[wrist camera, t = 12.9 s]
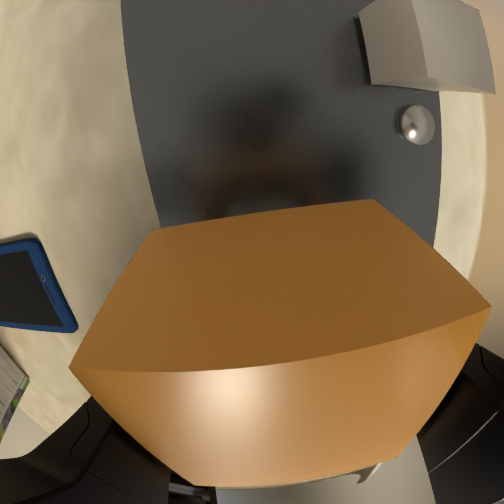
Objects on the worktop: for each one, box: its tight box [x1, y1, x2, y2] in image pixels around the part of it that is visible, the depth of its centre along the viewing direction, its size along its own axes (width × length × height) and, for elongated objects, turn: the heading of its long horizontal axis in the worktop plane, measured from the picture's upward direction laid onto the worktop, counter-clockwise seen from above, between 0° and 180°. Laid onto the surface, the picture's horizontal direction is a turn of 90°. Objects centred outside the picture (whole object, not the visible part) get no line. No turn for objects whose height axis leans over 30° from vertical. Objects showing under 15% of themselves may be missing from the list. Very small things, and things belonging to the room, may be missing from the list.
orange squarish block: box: [69, 199, 492, 486], centre depth 7 cm, size 6×6×5 cm
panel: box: [121, 0, 442, 248], centre depth 10 cm, size 12×20×2 cm, turn 8°
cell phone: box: [0, 238, 78, 333], centre depth 14 cm, size 7×14×1 cm, turn 95°
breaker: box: [358, 0, 495, 94], centre depth 5 cm, size 3×3×4 cm
